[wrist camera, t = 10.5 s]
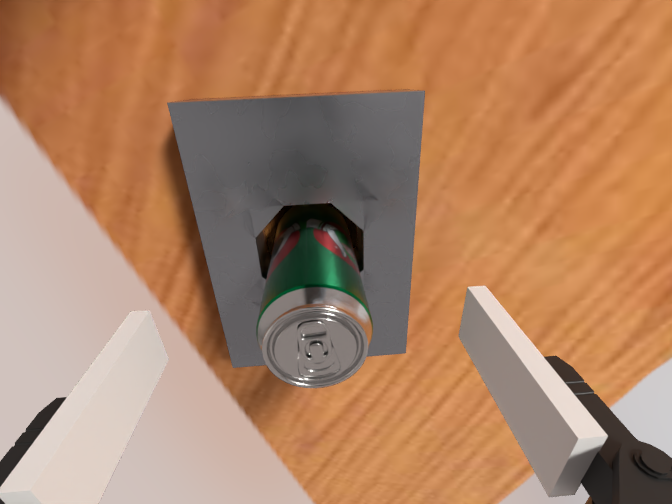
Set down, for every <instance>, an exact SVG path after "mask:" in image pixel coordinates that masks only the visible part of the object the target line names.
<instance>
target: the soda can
mask: <svg viewBox="0 0 672 504" xmlns="http://www.w3.org/2000/svg"><path fill="white" fill-rule="evenodd" d="M372 334H373V322H372V317H371V313H370V309H369V306H368V302H367V298H366V294H365V291H364V287H363V283H362V279H361V276H360V272H359V268H358V264H357V261H356V257H355V253H354V250H353V246H352V242H351V238H350V235H349V231H348V227H347V224H346V222H345V220H344V218H343V216H342V215H341V214H340V213H339V212H338V211H337V210H336V209H335V208H333V207H331V206H330V205H327V204H325V203H319V204H303V205H295V206H294V207H292V208H290V209H289V210H288V211H287V212H286V213H285V214H284V215H283V216H282V218H281V219H280V221H279V224H278V227H277V231H276V236H275V241H274V246H273V250H272V255H271V260H270V264H269V269H268V274H267V278H266V283H265V288H264V293H263V297H262V302H261V307H260V311H259V316H258V321H257V326H256V336H257V341H258V344H259V346H260V349H261V350H262V354H263V358H264V361H265V363H266V365H267V367H268V368H269V370H270V371H271V372H272V373H273V374H274V375H275V376H277V377H278V378H279V379H281V380H283V381H284V382H286V383H289V384H291V385H294V386H298V387H304V388H323V387H328V386H332V385H335V384H338V383H340V382H343V381H345V380H346V379H348V378H350V377H351V376H352V375H353V374H355V373H356V372H357V371H358V370H359V369H360V367H361V366H362V365H363V363H364V361H365V359H366V357H367V352H368V346H369V344H370V342H371V339H372Z"/></svg>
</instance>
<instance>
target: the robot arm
mask: <svg viewBox="0 0 672 504" xmlns="http://www.w3.org/2000/svg"><path fill="white" fill-rule="evenodd" d="M459 338H460V340H461V342H462V343H463V345H464V347H465V349H466V351H467V352H468V354H469V356H470V358H471V359H472V361H473V363H474V365H475V367H476V368H477V370H478V372H479V374H480V375H481V377H482V379H483V381H484V383H485V384H486V386H487V388H488V390H489V392H490V393H491V395H492V397H493V399H494V400H495V402H496V404H497V406H498V408H499V409H500V411H501V413H502V415H503V416H504V418H505V420H506V422H507V424H508V425H509V427H510V429H511V431H512V432H513V434H514V436H515V438H516V440H517V441H518V443H519V445H520V447H521V449H522V450H523V452H524V454H525V456H526V457H527V459H528V461H529V463H530V465H531V466H532V468H533V470H534V472H535V473H536V475H537V477H538V479H539V481H540V482H541V484H542V486H543V488H544V489H545V491H546V493H547V495H548V496H549V497H557V496H566V495H575V493H576V491H577V490H578V487H579V486H580V484H581V483H582V485H583V486H584V488H585V489H586V491H587V492H588V494H589V495H590V497H589V498H588V500H587V502H586V503H585V504H672V458H671V457H669V456H668V455H667V454H666V453H664V452H663V451H661V450H660V449H658V448H656V447H654V446H652V445H650V444H647V443H644V442H640V441H638V440H637V439H636V438H635V437H634V436H633V435H632V434H631V433H630V432H629V430H627V428H626V427H625V426H624V425H623V424H622V423H621V422H620V421H619V419H618V418H617V417H616V416H615V415H614V414H613V412H612V411H611V410H610V409H609V408H608V407H607V406H606V404H605V403H604V402H603V401H602V400H601V399H600V398H599V397H598V395H597V394H594V391H593V390H592V389H591V388H590V386H589V385H588V384H587V383H585V382H584V380H583V379H582V377H581V376H580V375H579V374H578V373H577V372H576V371H575V370H574V368H573V367H572V366H570V365H569V364H567V363H566V362H564V361H563V360H561V359H560V358H559V357H557V356H548V357H543V356H542V354H541V353H540V352H539V351H538V350H537V348H536V347H535V346H534V345H533V343H532V342H531V341H530V340H529V339H528V337H527V336H526V335H525V334H524V332H523V331H522V330H521V329H520V328H519V326H518V325H517V324H516V323H515V321H514V320H513V319H512V318H511V317H510V315H509V314H508V313H507V312H506V310H505V309H504V308H503V307H502V306H501V304H500V303H499V302H498V301H497V299H496V298H495V297H494V296H493V295H492V293H491V292H490V291H489V290H488V288H487V287H486V286H474V287H467V293H466V298H465V304H464V309H463V315H462V320H461V326H460V331H459ZM168 360H169V358H168V356H167V353H166V351H165V348H164V345H163V343H162V340H161V337H160V335H159V332H158V330H157V327H156V324H155V322H154V319H153V317H152V314H151V311H150V310H145V311H131V312H130V313H129V314H128V316H127V317H126V318H125V320H124V322H123V323H122V324H121V325H120V327H119V328H118V329H117V331H116V332H115V333H114V335H113V336H112V337H111V339H110V340H109V341H108V343H107V344H106V345H105V347H104V348H103V350H102V351H101V352H100V353H99V355H98V356H97V358H96V359H95V360H94V362H93V363H92V364H91V366H90V367H89V368H88V370H87V371H86V372H85V374H84V375H83V377H82V378H81V379H80V380H79V382H78V383H77V384H76V386H75V387H74V389H73V390H72V391H71V393H70V394H69V395H68V397H64V398H56V399H55V400H54V401H53V402H51V403H50V404H49V405H48V406H47V407H45V408H44V409H43V410H42V411H41V412H39V413H38V414H37V416H36V417H35V418H34V420H33V421H32V422H31V423H30V425H29V426H28V427H27V428H26V432H25V433H22V435H21V436H20V437H19V439H18V440H17V441H16V442H15V446H14V447H12V448H11V449H10V450H9V451H8V452H7V454H6V455H5V456H4V458H3V459H2V460H1V461H0V504H99V502H100V500H101V498H102V496H103V494H104V492H105V489H106V488H107V485H108V483H109V481H110V479H111V477H112V475H113V473H114V471H115V469H116V467H117V464H118V463H119V461H120V459H121V457H122V455H123V453H124V450H125V448H126V446H127V444H128V442H129V440H130V438H131V436H132V434H133V432H134V430H135V428H136V426H137V424H138V422H139V420H140V418H141V416H142V414H143V411H144V409H145V407H146V405H147V403H148V401H149V399H150V397H151V395H152V393H153V391H154V389H155V387H156V385H157V383H158V381H159V379H160V377H161V375H162V372H163V370H164V368H165V366H166V364H167V362H168Z"/></svg>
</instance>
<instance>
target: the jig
mask: <svg viewBox="0 0 672 504" xmlns="http://www.w3.org/2000/svg"><path fill="white" fill-rule="evenodd" d="M424 98H425V91H422V90H410V89H403V90H381V91H360V92H339V93H317V94H296V95H274V96H253V97H232V98H210V99H189V100H183V101H176V102H170V103H167V104H168V108H169V112H170V116H171V120H172V124H173V128H174V132H175V136H176V140H177V144H178V148H179V152H180V156H181V160H182V164H183V168H184V172H185V176H186V180H187V184H188V188H189V192H190V197H191V201H192V205H193V209H194V213H195V217H196V221H197V225H198V229H199V233H200V237H201V241H202V245H203V249H204V253H205V257H206V261H207V265H208V269H209V273H210V277H211V281H212V285H213V290H214V294H215V298H216V302H217V306H218V310H219V314H220V318H221V322H222V326H223V330H224V334H225V338H226V342H227V346H228V350H229V354H230V358H231V362H232V366H233V368H236V367H248V366H260V365H266V363H265V361H264V358H263V354H262V350H261V349H260V346H259V344H258V341H257V336H256V326H257V321H258V316H259V311H260V307H261V302H262V297H263V293H264V288H265V283H266V278H267V274H268V269H269V264H270V260H271V254H270V253H268V251H267V244H266V238H265V231H264V228H265V227H266V225H267V224H268V223H269V222H270V221H271V220H272V219H273V218H274V216H275V215H276V214H277V213H278V212H279V211H280V210H281V208H282V207H283V206H287V205H303V204H319V203H332V204H333V205H334V206H335V207H336V208H337V209H339V210H340V211H341V212H342V213H343V214H344V215H346V216H347V217H348V218H349V219H350V220H351V221H353V222H354V223H355V224H356V225H357V246H356V247H355V248H354V249H353V250H354V253H355V257H356V261H357V264H358V268H359V272H360V276H361V279H362V283H363V287H364V291H365V294H366V298H367V302H368V306H369V309H370V313H371V317H372V322H373V334H372V339H371V342H370V344H369V346H368V352H367V356H379V355H391V354H402V353H406V342H407V329H408V315H409V302H410V288H411V274H412V261H413V247H414V234H415V220H416V207H417V193H418V179H419V166H420V152H421V139H422V125H423V111H424Z"/></svg>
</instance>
